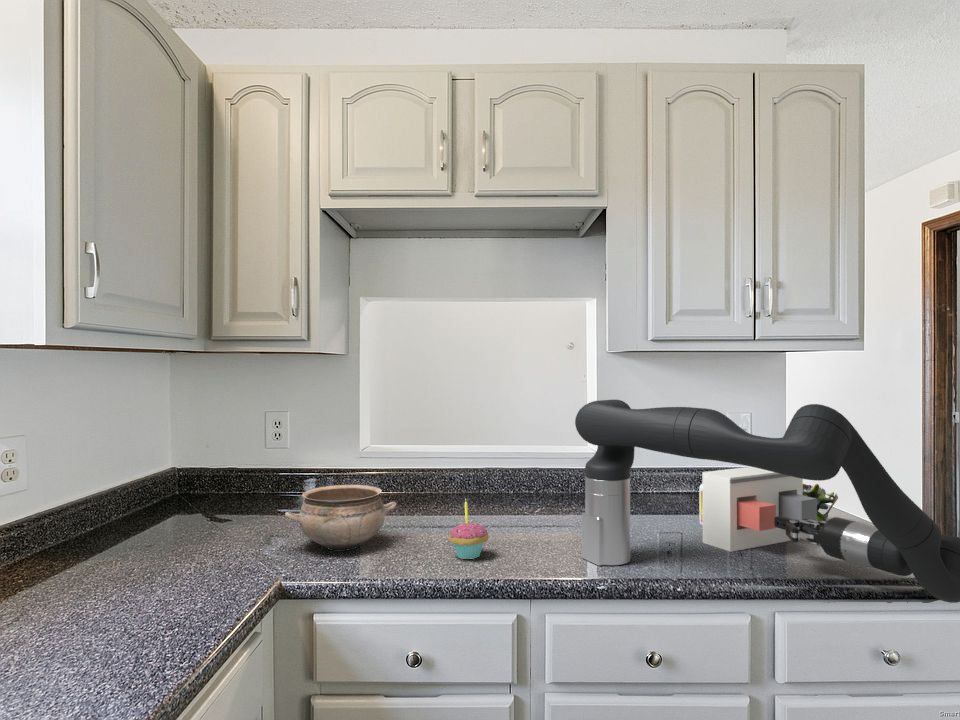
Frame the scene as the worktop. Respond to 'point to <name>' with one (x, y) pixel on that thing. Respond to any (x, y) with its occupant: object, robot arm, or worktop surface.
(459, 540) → the cupcake
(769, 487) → the push button box
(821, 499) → the passion flower
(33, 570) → the worktop surface
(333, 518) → the cooking pot
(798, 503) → the grey button
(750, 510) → the red button
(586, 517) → the robot arm
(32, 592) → the worktop surface
